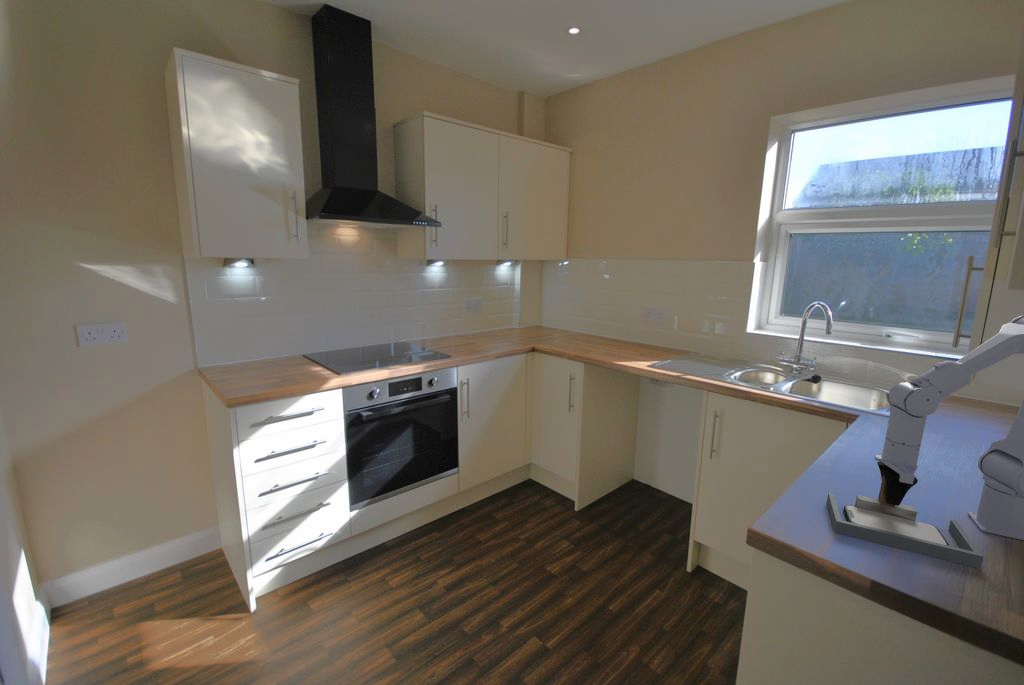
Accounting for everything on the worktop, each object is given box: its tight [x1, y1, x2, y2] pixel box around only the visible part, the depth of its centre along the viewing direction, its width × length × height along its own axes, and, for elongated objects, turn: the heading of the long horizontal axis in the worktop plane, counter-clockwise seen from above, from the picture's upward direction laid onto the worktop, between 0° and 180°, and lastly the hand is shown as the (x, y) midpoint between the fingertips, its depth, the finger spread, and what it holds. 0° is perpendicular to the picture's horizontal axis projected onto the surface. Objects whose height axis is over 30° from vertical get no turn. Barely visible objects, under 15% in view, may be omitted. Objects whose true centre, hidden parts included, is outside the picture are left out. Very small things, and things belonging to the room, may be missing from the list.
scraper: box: [854, 475, 918, 521], centre depth 100 cm, size 10×2×9 cm, turn 62°
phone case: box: [842, 505, 950, 546], centre depth 96 cm, size 9×2×16 cm
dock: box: [826, 492, 984, 570], centre depth 95 cm, size 22×13×2 cm, turn 62°
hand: (890, 500), depth 100 cm, fingers closed on scraper, 2 cm apart
